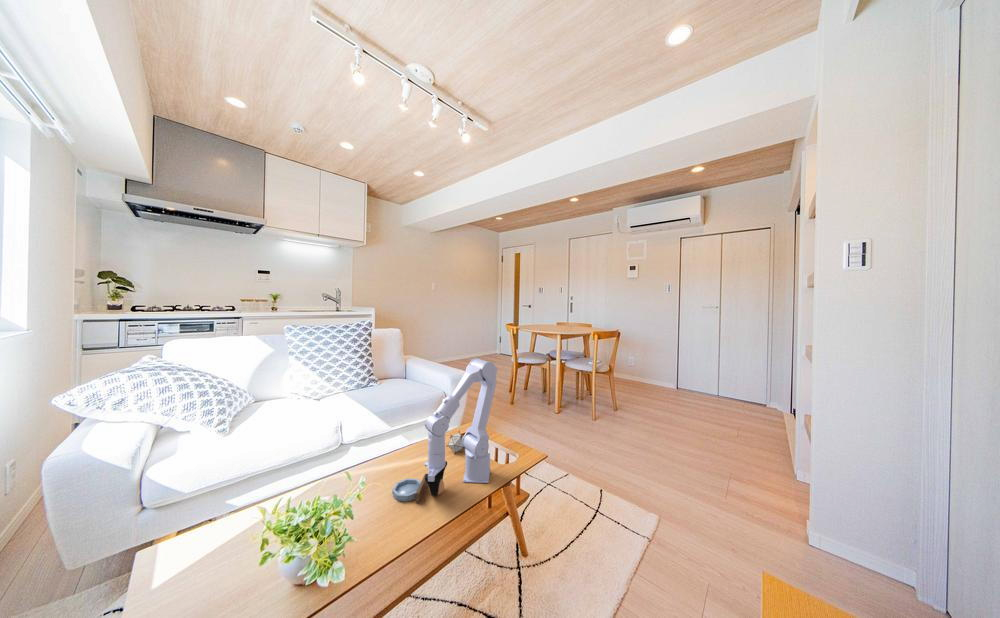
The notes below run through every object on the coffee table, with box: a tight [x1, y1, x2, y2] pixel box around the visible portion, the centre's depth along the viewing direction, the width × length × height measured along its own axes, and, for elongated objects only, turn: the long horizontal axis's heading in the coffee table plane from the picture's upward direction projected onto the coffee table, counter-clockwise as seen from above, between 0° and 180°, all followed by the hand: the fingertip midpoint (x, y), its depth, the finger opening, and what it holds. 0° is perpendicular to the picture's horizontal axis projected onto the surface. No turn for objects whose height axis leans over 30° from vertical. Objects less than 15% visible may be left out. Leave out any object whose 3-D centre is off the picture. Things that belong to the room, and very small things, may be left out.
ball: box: [428, 479, 445, 496], centre depth 104 cm, size 5×5×5 cm
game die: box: [445, 430, 465, 455], centre depth 133 cm, size 9×8×10 cm
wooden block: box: [415, 473, 428, 505], centre depth 105 cm, size 1×11×4 cm, turn 178°
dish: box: [391, 478, 421, 503], centre depth 105 cm, size 9×9×2 cm
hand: (436, 489), depth 105 cm, fingers closed on ball, 5 cm apart
